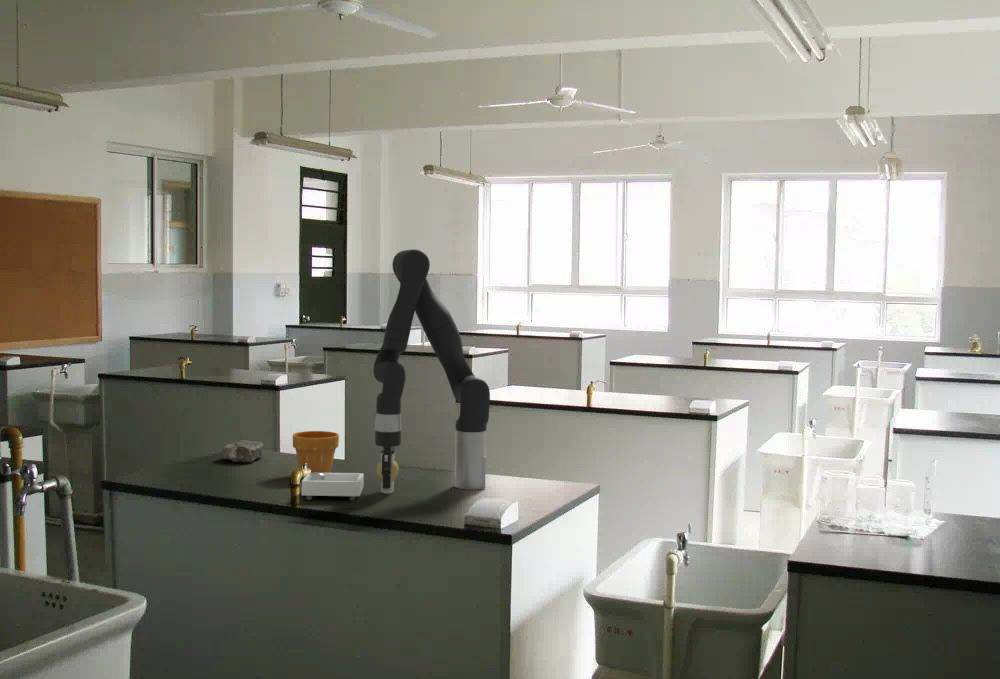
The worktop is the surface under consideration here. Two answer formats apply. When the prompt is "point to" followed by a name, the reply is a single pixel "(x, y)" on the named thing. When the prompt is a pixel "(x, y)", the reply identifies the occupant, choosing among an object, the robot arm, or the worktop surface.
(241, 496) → the worktop surface
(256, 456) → the rock
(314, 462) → the flower pot
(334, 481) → the tray
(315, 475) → the grey rounded piece
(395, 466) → the amber frosted bulb
